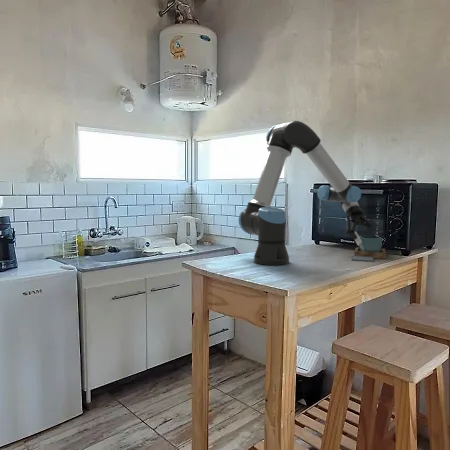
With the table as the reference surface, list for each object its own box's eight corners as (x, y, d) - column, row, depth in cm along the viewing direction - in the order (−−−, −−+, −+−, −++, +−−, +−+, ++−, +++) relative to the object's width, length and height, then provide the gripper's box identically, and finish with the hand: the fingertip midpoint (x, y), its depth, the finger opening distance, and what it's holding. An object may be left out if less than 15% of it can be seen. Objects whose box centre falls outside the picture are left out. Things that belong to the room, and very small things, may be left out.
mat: (351, 260, 180) (351, 259, 180) (352, 256, 189) (352, 255, 189) (373, 261, 177) (373, 260, 177) (373, 258, 186) (373, 256, 186)
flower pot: (382, 257, 188) (383, 238, 187) (363, 257, 188) (364, 237, 187) (376, 254, 197) (376, 235, 196) (357, 253, 197) (358, 235, 196)
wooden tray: (354, 256, 189) (354, 251, 188) (355, 252, 201) (355, 247, 201) (385, 258, 184) (385, 253, 184) (384, 253, 197) (385, 248, 196)
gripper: (368, 213, 211) (388, 246, 199) (328, 215, 203) (346, 249, 190) (376, 204, 206) (397, 237, 193) (334, 205, 197) (354, 239, 185)
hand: (372, 243), depth 192 cm, fingers open, 13 cm apart
